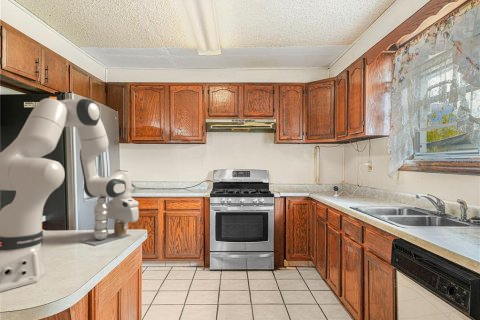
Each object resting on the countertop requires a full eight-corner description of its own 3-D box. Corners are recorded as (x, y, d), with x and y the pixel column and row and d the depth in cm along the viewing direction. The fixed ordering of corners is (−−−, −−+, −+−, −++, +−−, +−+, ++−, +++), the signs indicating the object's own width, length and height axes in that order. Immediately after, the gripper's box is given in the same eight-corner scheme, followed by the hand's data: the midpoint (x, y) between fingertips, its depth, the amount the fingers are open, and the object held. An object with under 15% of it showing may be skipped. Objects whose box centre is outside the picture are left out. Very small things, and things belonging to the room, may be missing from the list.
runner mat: (95, 245, 125) (95, 231, 125) (80, 242, 130) (81, 228, 130) (131, 235, 144) (131, 222, 144) (117, 232, 148) (117, 220, 148)
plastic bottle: (110, 237, 136) (112, 196, 137) (103, 241, 130) (104, 198, 130) (98, 237, 137) (99, 196, 137) (89, 241, 130) (91, 198, 130)
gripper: (102, 200, 146) (102, 227, 146) (131, 204, 137) (130, 232, 137) (113, 199, 152) (112, 224, 152) (141, 202, 143) (140, 229, 143)
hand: (121, 228), depth 144 cm, fingers open, 3 cm apart
